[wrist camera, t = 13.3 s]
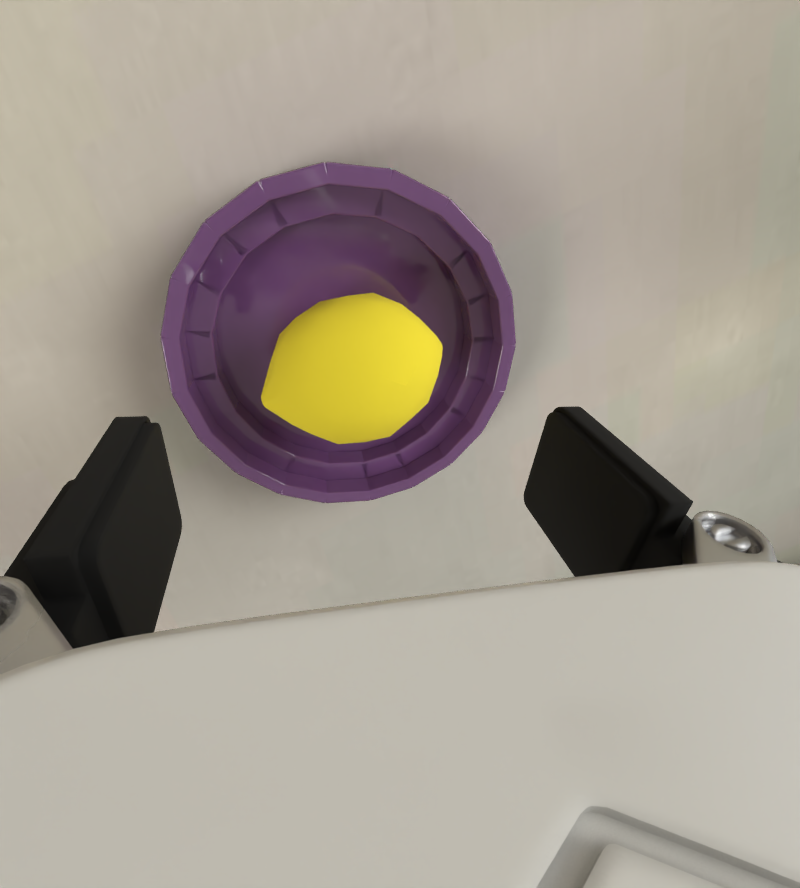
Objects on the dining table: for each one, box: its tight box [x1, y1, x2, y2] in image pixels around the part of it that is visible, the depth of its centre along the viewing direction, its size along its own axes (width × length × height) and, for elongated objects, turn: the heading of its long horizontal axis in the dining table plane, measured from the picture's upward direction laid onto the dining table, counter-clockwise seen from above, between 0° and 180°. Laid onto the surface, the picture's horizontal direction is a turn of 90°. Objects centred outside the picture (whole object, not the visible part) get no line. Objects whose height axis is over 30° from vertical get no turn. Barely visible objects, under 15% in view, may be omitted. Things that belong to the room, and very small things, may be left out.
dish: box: [161, 162, 516, 503], centre depth 18 cm, size 13×13×3 cm
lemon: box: [261, 293, 443, 444], centre depth 16 cm, size 7×5×5 cm
